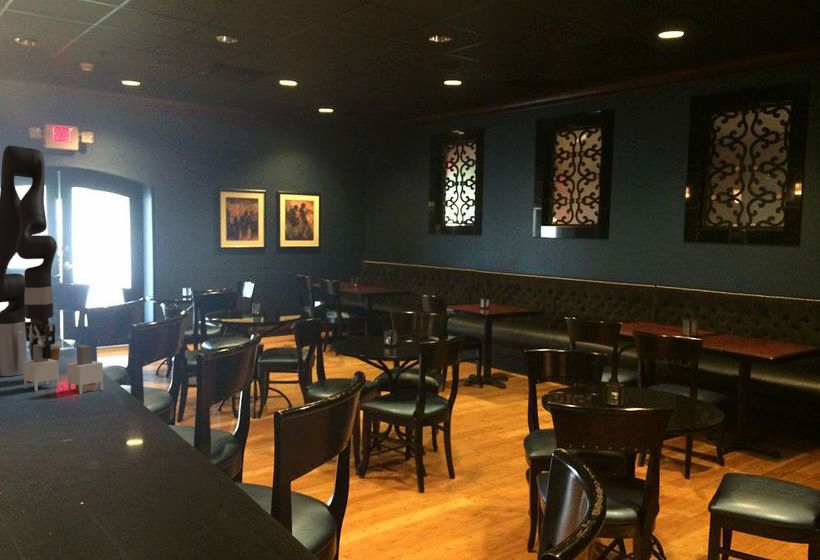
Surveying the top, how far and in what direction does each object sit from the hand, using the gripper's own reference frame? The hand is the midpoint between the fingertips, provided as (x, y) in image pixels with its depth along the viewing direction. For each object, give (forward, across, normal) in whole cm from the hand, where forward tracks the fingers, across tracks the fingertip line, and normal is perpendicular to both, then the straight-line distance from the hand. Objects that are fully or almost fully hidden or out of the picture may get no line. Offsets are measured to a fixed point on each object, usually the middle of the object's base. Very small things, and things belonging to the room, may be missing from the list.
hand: (41, 357), depth 207 cm
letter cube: (+9, +14, +6) cm, 18 cm away
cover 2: (+9, +14, +6) cm, 18 cm away
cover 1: (+9, 0, 0) cm, 9 cm away
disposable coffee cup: (+9, -12, +7) cm, 17 cm away
